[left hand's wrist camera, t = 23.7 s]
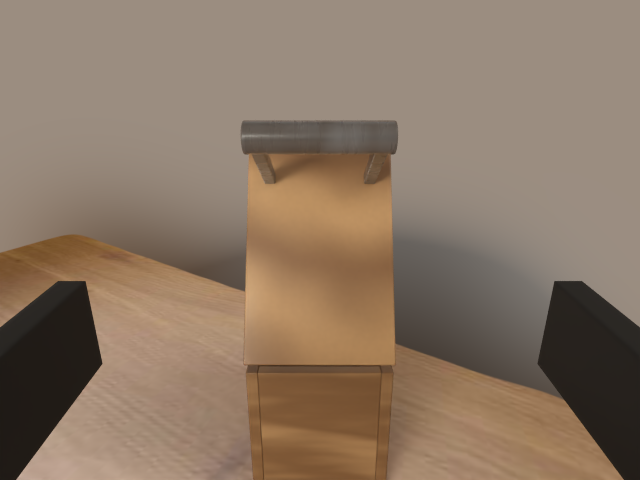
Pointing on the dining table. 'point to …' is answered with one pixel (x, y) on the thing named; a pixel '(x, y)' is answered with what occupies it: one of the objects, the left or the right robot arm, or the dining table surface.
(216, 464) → the dining table surface
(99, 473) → the dining table surface
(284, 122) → the lid
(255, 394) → the chest
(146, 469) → the dining table surface
